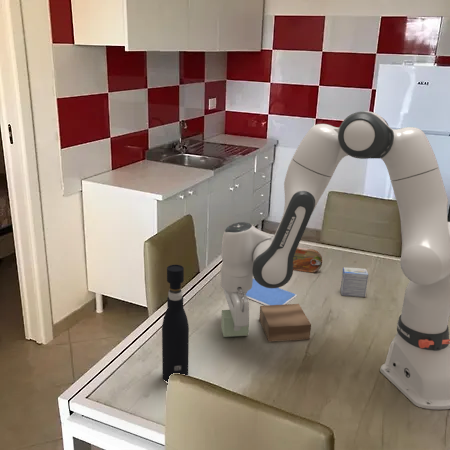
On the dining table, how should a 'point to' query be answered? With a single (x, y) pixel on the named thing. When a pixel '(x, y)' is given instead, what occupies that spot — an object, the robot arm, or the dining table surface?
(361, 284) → the medicine box
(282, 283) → the robot arm
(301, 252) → the tin
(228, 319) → the sage brick
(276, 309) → the walnut brick
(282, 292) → the blue rectangular panel
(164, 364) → the black bottle
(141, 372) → the dining table surface
